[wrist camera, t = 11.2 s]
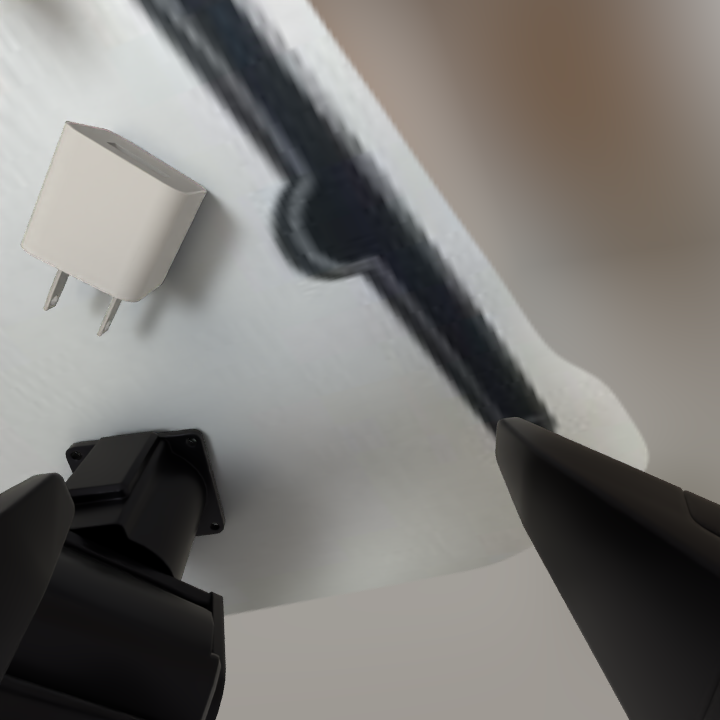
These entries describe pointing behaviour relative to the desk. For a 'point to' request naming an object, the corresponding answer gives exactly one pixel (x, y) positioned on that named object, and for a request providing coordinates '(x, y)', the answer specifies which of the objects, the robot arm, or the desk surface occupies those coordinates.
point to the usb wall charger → (109, 216)
